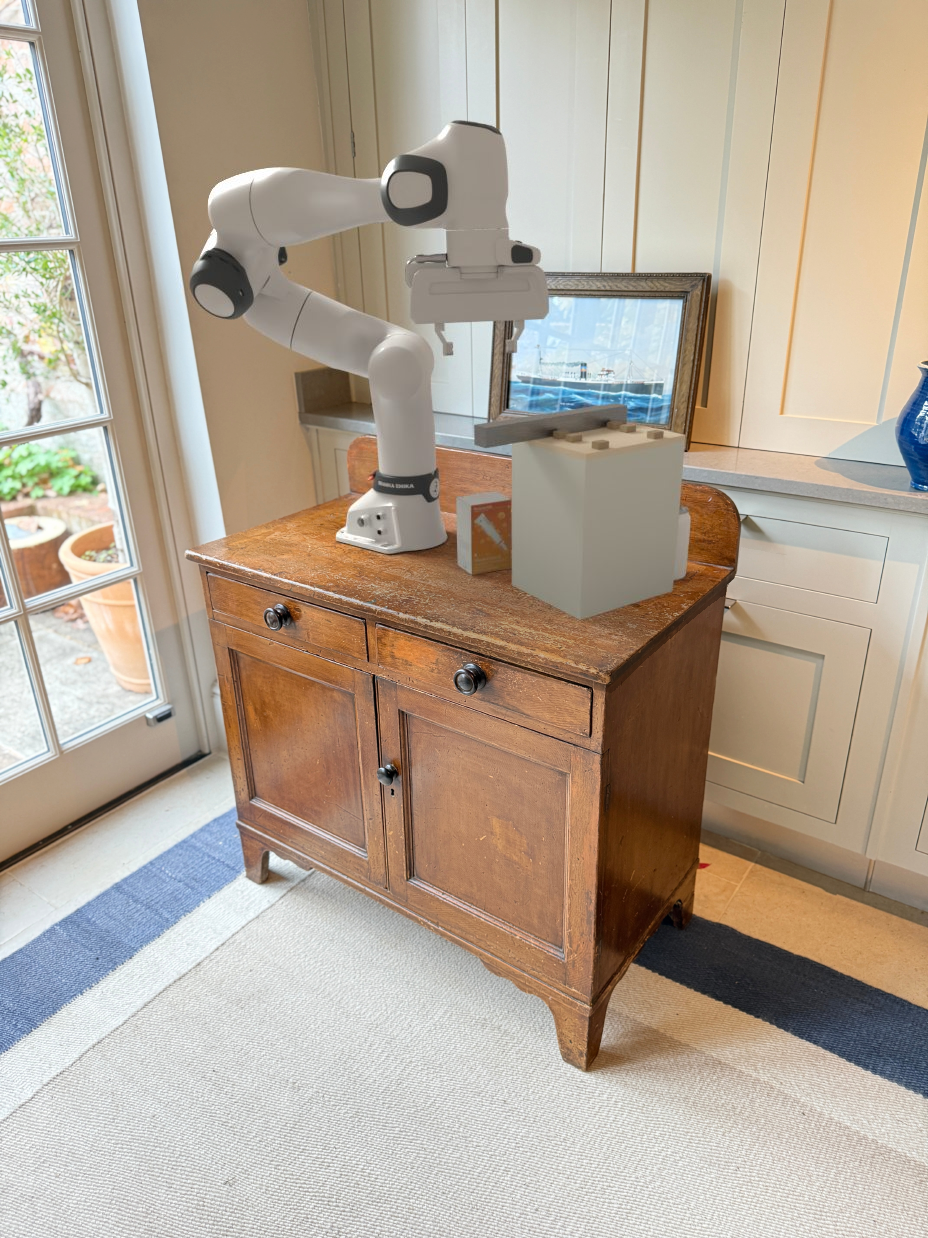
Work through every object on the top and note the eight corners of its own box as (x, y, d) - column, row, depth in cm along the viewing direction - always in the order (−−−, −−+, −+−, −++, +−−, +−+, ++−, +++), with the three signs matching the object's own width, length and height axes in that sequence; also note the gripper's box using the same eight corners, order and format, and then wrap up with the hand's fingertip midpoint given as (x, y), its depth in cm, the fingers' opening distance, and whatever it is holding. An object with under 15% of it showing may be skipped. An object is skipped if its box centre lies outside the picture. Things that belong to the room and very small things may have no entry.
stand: (580, 620, 131) (586, 446, 120) (511, 585, 145) (511, 427, 134) (672, 591, 141) (686, 428, 130) (600, 560, 155) (607, 411, 144)
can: (688, 571, 149) (694, 505, 144) (681, 583, 144) (687, 516, 139) (652, 566, 151) (656, 501, 146) (643, 579, 146) (648, 512, 141)
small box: (471, 576, 149) (470, 505, 144) (457, 565, 154) (455, 496, 149) (512, 568, 152) (512, 498, 147) (496, 558, 157) (496, 489, 152)
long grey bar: (485, 448, 125) (485, 427, 124) (474, 444, 127) (474, 424, 126) (626, 423, 139) (627, 405, 137) (614, 421, 141) (614, 402, 140)
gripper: (404, 255, 116) (410, 359, 122) (551, 249, 117) (550, 353, 123) (403, 254, 122) (409, 353, 127) (544, 249, 123) (543, 348, 129)
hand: (479, 353), depth 125 cm, fingers open, 8 cm apart
